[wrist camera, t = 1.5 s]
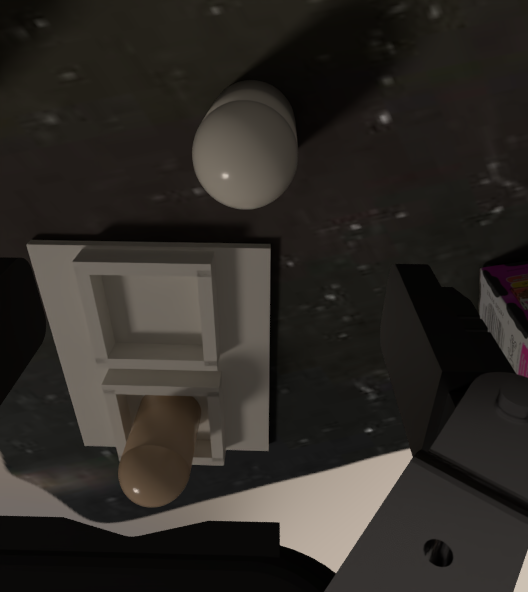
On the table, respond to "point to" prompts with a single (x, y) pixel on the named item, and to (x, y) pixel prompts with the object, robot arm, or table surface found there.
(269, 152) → the white capsule
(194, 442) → the tan capsule
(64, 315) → the white holder tray
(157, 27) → the table surface
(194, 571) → the robot arm
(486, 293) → the candy bar box
